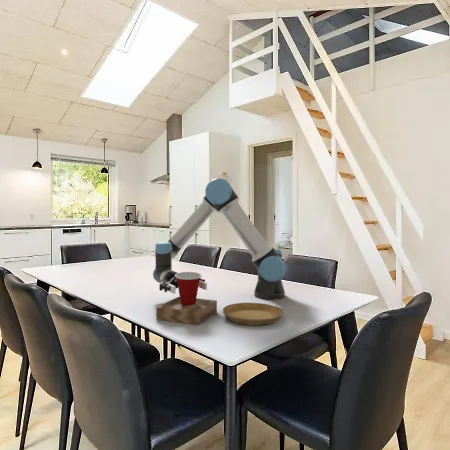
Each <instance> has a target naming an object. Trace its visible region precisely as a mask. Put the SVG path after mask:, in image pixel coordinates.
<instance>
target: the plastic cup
mask: <svg viewBox="0 0 450 450" xmlns="http://www.w3.org/2000/svg"><path fill="white" fill-rule="evenodd" d="M175 277H176V279H177V283H178V288H177V289H178V294H179V297H180V300H181V304H183V305H193V304H195V302H196V298H197V296H198V290H199V287H198V286H199V281H200V279H201V278H202V273H200V272H195V271H181V272H177V274H175Z"/></svg>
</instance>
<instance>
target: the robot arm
mask: <svg viewBox="0 0 450 450" xmlns="http://www.w3.org/2000/svg"><path fill="white" fill-rule="evenodd" d="M204 192H205V193H204V194H205V195H204V196H203V198H202V202H201V203H200V204H199V205H198V206H197V207H196V209H195V210H194V211H193V212H192V214H190V216H189V217H188V218H187V219H186V221H184V222H183V223H182V225H181V226H180V227H179V228H178V229H177V230H176V232H175V233H174V234H173V235H172V236H171V237H170V239H168V241H166V242H165V241H159V242H156V244H155V247H154V248H155V249H154V252H155V254H154V255H155V258H154V259H155V266H154V267H155V268H154V270H153V271H152V277H153V279H154V281H156V282H157V283H158V284H159V291H160V292H161V291H164V293H168V292H169V293H171V294H173V295H175V294H177V293H176V291H177V290H176V289H178V283H177V279H176V277H175V274H177V273H178V272H177V271H175V270H172V266H173V264H172V262H173V261H172V259H174V258H176V257H177V255H178V253H179V252H180V251H181V250H182V249H183V248H184V247H185V245H186V244H187V243H188V242H189V241H190V240H191V238H192V237H193V236H194V235H195V234H196V233H197V231H199V230H200V228H201V227H202V226H203V225H204V224H205V223H206V221H208V220H209V218H210V217H211V216H212V215H213V214H214V212H218V213H220V214H223V216H224V218H225V219H226V221H228V223H229V224H230V226H231V227H232V229H233V230H234V232H235V234H237V236H238V237H239V239H240V241H241V242H242V243H243V245H244V246H245V248H246V249H247V250H248V252H249V254H250V255H251V256H252V258H251V261H252V262H251V263H252V264H253V265H254V266H255V268H256V269H257V281H256V284H255V287H254V290H253V291H254V294H253V295H254V297H256V298H259V299H265V300H279V299H283V298H285V297H286V291H285V288H284V285H283V284H284V283H283V281H282V278H283V277H284V275H285V274H286V263H285V261H284V260H283V259H282V258H283V253H282V250H281V249H275V248H274V247H273V246H271V245H269V244H268V243H267V242H266V240H265V239H264V238H263V236H262V234H260V232H259V231H258V229H257V228H256V226H255V225H254V223H253V222H252V221H251V219H250V217H249V216H248V214H247V213H246V212H245V211H244V209H243V208H242V206H241V205H240V203H239V196H238V195H237V193H236V192H235V190H234V189H233V187H232V186H231V184H230V182H229V181H228V180H227V179H224V178H222V177H216V178H213V179H212V180H210V181H209V182H208V183H207V185H206V186H205V190H204ZM198 288H200V289H202V290H205V291H207V290H208V283H207V282H206V279H203V278H202V277H201V278H200V281H199V286H198Z"/></svg>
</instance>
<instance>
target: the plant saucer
mask: <svg viewBox="0 0 450 450" xmlns="http://www.w3.org/2000/svg"><path fill="white" fill-rule="evenodd" d="M222 313H223V314H224V316H225V317H226V318H227V319H228V320H230V321H231V322H233V323H237V324H241V325H246V326H264V325H270V324H272V323H273V324H274V323H276V322H278V321H279V320H280V319H281V317H282V316H283V315H284V310H283V309H282V308H280V307H278V306H275V305H272V304H267V303H262V302H261V303H260V302H237V303H231V304H229V305H226V306H224V307H223V308H222Z"/></svg>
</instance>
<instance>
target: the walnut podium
mask: <svg viewBox="0 0 450 450" xmlns="http://www.w3.org/2000/svg"><path fill="white" fill-rule="evenodd" d="M217 303H218V300H216V299H215V300H213V299H204V298H197V297H196V302H195V304H193V305H183V304H181V300H180V296H177V297H175V298H173V299H171V300H168V301H166V302H164V303H161V304H159V305H158V306H156V308H155V309H156V312H155V314H156V316H155V317H156V318H155V320H157V321H164V322H171V323H172V322H173V323H179V324H187V325H194V326H199V325H201V324H202V323H203V322H205V321H206V320H208V319H209V318H211V317H212V316H213V315H215V314H217V312H218V304H217Z"/></svg>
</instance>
